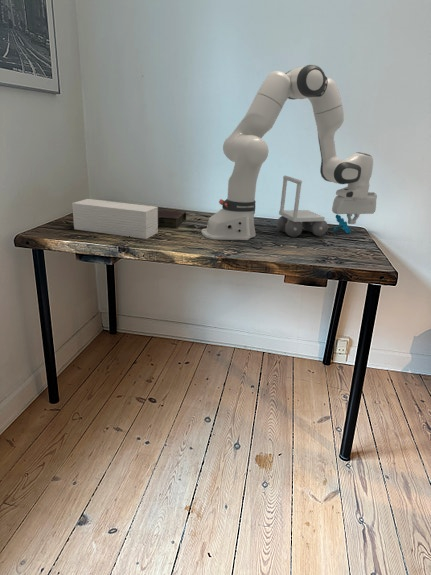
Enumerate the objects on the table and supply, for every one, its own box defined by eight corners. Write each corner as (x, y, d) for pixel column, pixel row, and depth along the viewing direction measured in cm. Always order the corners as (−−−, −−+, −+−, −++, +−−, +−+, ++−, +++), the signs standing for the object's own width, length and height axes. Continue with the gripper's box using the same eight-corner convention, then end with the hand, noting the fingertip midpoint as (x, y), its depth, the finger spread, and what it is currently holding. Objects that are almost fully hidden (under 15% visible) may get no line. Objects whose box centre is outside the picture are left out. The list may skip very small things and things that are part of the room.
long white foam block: (157, 233, 167) (157, 206, 163) (146, 239, 158) (145, 211, 154) (89, 224, 176) (87, 198, 172) (74, 229, 166) (72, 203, 162)
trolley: (288, 238, 168) (295, 180, 159) (274, 230, 181) (279, 175, 172) (328, 237, 174) (337, 180, 165) (312, 228, 186) (320, 175, 177)
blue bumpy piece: (348, 232, 176) (335, 213, 178) (337, 240, 179) (324, 221, 181) (354, 231, 185) (342, 213, 187) (343, 238, 188) (331, 220, 190)
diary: (134, 217, 194) (134, 206, 192) (186, 221, 191) (186, 210, 189) (120, 225, 177) (119, 213, 175) (177, 230, 174) (177, 218, 172)
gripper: (373, 191, 183) (367, 221, 188) (332, 190, 177) (327, 222, 183) (382, 193, 178) (375, 224, 183) (341, 193, 172) (335, 225, 177)
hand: (351, 223), depth 183 cm, fingers closed
